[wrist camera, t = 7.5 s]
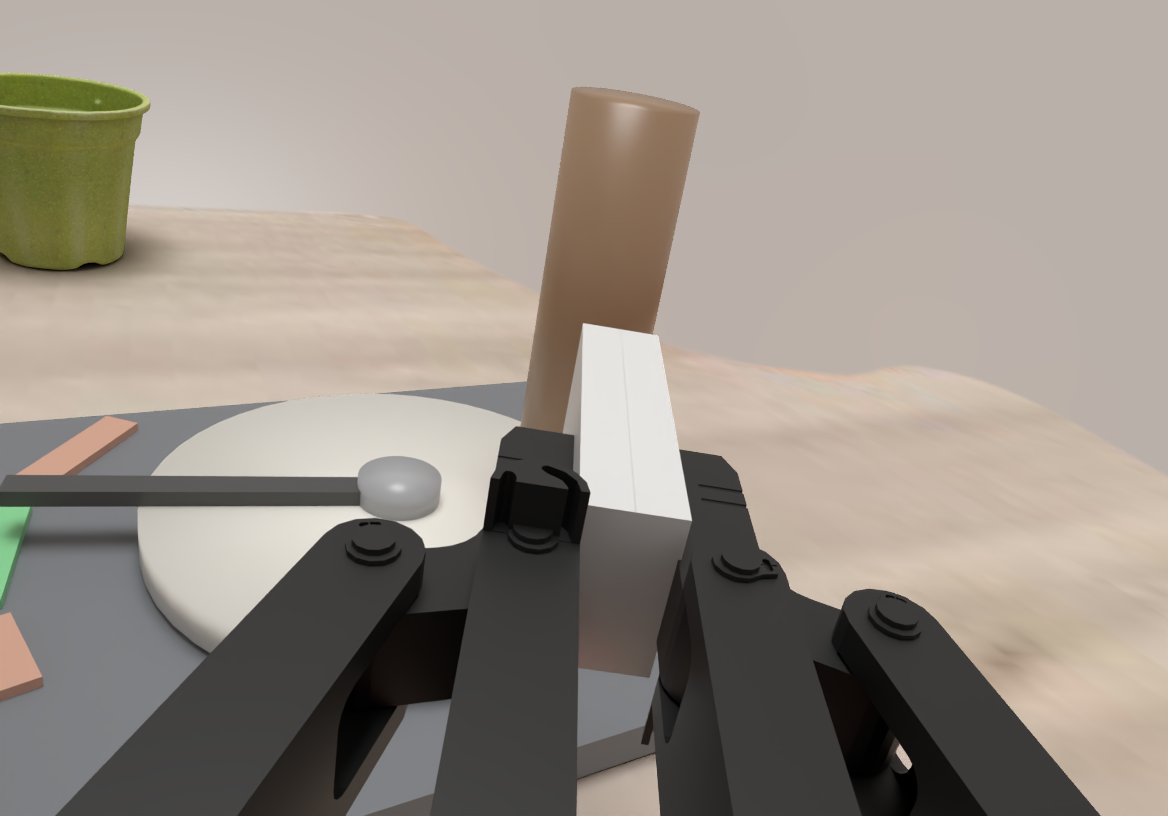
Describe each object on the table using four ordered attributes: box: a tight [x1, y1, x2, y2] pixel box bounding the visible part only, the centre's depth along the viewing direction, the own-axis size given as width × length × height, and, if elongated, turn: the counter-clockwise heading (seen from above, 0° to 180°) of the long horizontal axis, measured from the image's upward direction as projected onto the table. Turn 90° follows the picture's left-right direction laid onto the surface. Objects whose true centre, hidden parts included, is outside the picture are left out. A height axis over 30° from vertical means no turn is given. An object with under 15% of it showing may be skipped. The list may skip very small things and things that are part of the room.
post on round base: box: [0, 87, 700, 653], centre depth 27 cm, size 16×15×14 cm
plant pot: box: [0, 73, 150, 270], centre depth 48 cm, size 9×9×9 cm
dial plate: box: [0, 382, 659, 816], centre depth 29 cm, size 20×25×2 cm
